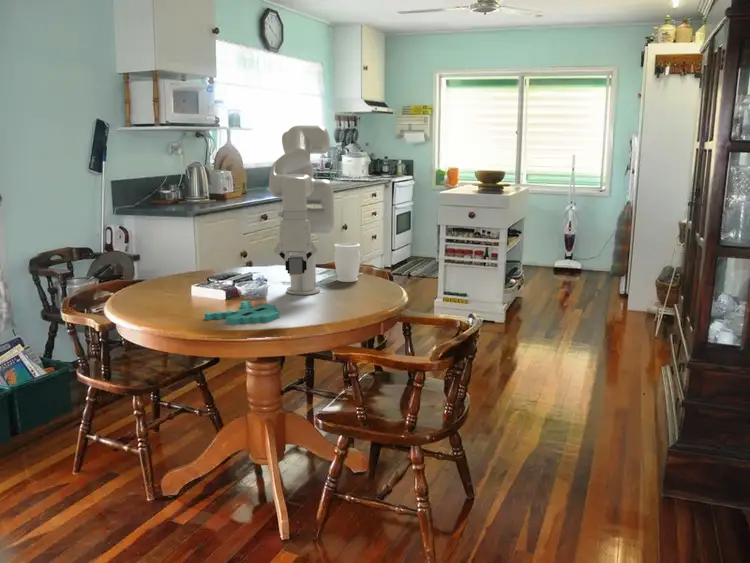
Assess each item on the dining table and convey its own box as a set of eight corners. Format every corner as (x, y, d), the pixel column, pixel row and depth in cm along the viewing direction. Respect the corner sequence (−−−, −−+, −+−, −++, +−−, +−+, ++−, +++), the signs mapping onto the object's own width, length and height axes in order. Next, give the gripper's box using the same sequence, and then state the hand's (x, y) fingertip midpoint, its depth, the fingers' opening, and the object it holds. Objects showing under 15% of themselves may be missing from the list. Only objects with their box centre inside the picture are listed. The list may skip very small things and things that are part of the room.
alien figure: (204, 320, 220) (253, 328, 211) (204, 313, 220) (253, 321, 210) (244, 307, 237) (291, 314, 228) (244, 301, 237) (291, 308, 227)
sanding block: (290, 271, 223) (290, 255, 221) (302, 271, 223) (302, 255, 222) (289, 276, 216) (289, 259, 215) (302, 276, 216) (301, 259, 215)
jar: (365, 279, 281) (365, 243, 277) (350, 284, 272) (350, 247, 269) (344, 276, 286) (344, 241, 283) (329, 281, 278) (329, 244, 275)
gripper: (267, 217, 211) (269, 275, 215) (321, 217, 212) (322, 274, 216) (269, 214, 219) (271, 270, 222) (321, 214, 220) (322, 269, 224)
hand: (296, 271), depth 219 cm, fingers closed on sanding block, 4 cm apart
